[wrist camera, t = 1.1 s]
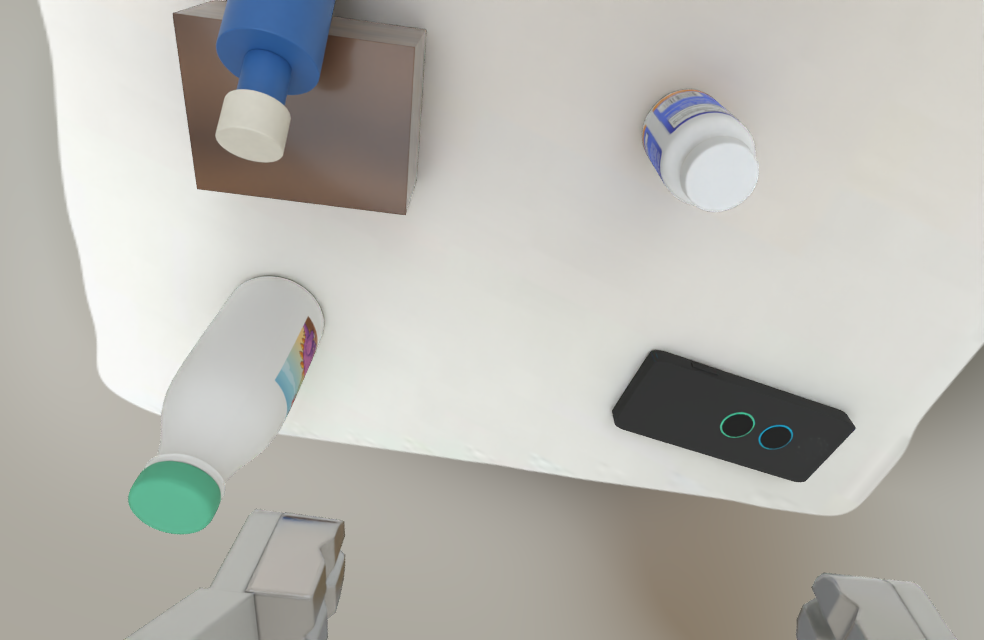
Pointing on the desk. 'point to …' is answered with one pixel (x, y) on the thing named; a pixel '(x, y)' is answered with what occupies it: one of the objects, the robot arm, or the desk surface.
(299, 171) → the wooden box
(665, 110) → the pill bottle
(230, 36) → the bottle
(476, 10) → the desk surface
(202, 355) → the milk bottle
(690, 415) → the smart home device
